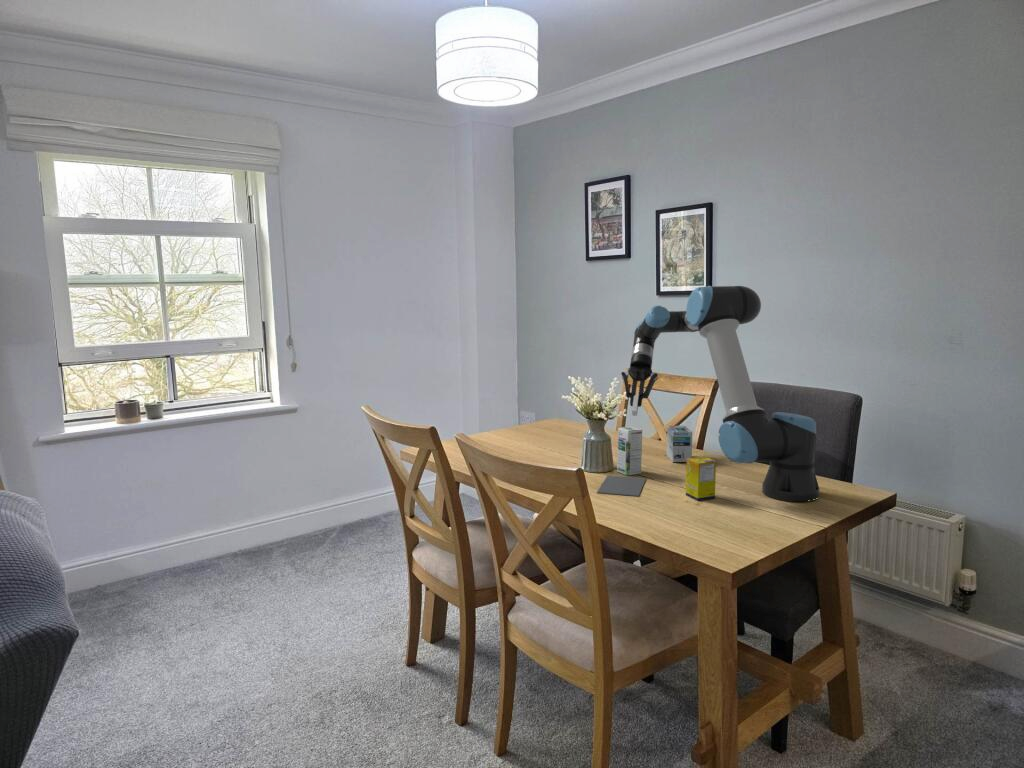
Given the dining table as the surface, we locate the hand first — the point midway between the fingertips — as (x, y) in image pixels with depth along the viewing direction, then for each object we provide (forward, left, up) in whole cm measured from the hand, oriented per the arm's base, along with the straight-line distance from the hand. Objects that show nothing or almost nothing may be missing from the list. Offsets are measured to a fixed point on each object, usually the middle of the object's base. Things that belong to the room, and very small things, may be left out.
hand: (634, 413), depth 231 cm
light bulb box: (-3, -15, -17) cm, 23 cm away
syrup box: (-15, +8, -16) cm, 23 cm away
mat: (-28, +15, -16) cm, 35 cm away
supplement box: (-43, -2, -17) cm, 46 cm away
